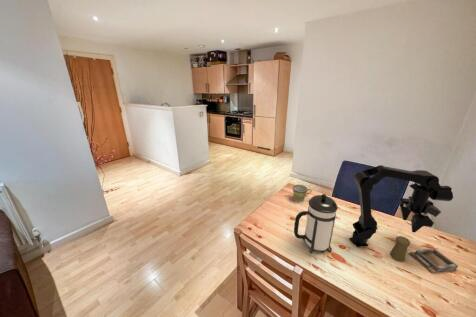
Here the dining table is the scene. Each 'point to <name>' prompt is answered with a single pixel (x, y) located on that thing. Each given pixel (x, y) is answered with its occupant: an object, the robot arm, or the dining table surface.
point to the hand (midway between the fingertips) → (408, 225)
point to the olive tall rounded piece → (400, 249)
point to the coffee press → (318, 222)
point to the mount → (433, 260)
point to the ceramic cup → (300, 192)
